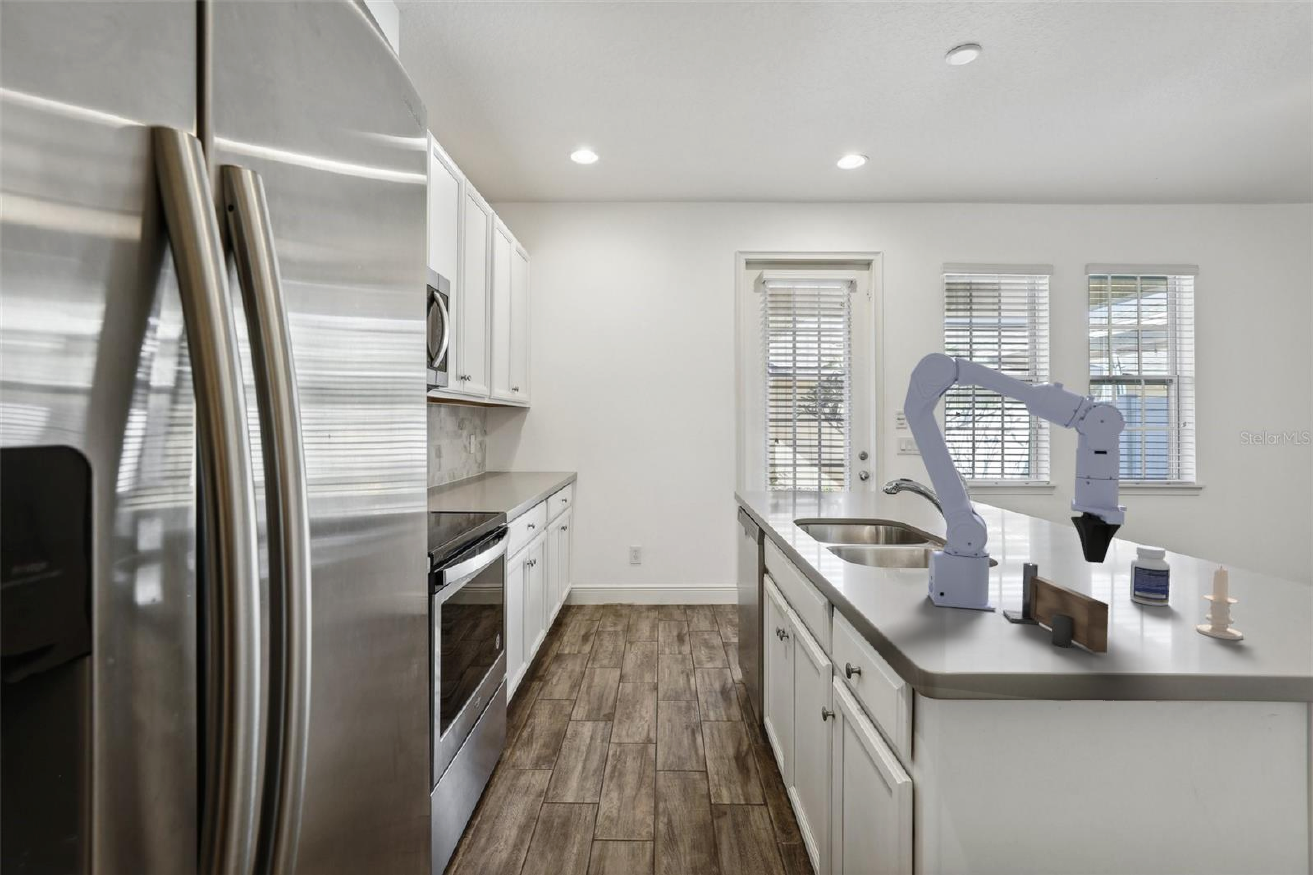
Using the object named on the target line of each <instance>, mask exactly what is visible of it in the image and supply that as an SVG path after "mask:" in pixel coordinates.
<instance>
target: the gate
mask: <svg viewBox="0 0 1313 875" xmlns="http://www.w3.org/2000/svg"><path fill="white" fill-rule="evenodd" d="M1053 614H1062V615H1067V616H1070V617H1072V618H1073V619H1072V642H1073V641H1074V642H1075V643H1077V644H1078V645H1081V646H1083V647H1084V648H1086V649H1087V650H1090V651H1091V652H1093V653H1095V654H1097V653H1099V654H1101V653H1102V654H1104V653H1105V654H1106V653H1108V634H1109V632H1108V629H1109V603H1106V602H1104V601H1101V600H1097V599H1096V598H1093V597H1090V596H1088V595H1086V594H1084V593H1081V592H1079V591H1076V590H1074V589H1072V588H1069V587H1067V586H1064V585H1062V584H1060V583H1057V582H1054V581H1052V580H1050V579H1047V578H1045V577H1043V576H1039V575H1038V576H1031V605H1030V618H1032V619H1034V620H1036V621H1038V622H1039V624H1042V625H1043V626H1045V627H1047V628H1049V629H1051V630H1052V615H1053Z"/></svg>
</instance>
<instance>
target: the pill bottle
mask: <svg viewBox="0 0 1313 875" xmlns="http://www.w3.org/2000/svg"><path fill="white" fill-rule="evenodd" d="M1136 555H1137V557H1134V558H1132V559H1131V562H1130V586H1129V587H1130V588H1129V596H1130V597H1129V598H1130V600H1131V601H1133V602H1134V603H1138V604H1143V605H1147V606H1156V607H1162V606H1163V607H1166V606H1168V605H1169V602H1170V585H1171V584H1170V578H1171V577H1170V576H1171V566H1170V563H1168V561H1165V560H1164V558H1166V549H1165V548H1163V547H1158V546H1153V545H1137V546H1136Z"/></svg>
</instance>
